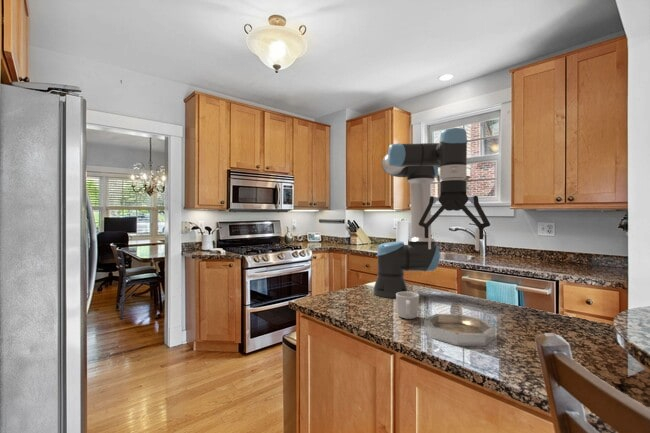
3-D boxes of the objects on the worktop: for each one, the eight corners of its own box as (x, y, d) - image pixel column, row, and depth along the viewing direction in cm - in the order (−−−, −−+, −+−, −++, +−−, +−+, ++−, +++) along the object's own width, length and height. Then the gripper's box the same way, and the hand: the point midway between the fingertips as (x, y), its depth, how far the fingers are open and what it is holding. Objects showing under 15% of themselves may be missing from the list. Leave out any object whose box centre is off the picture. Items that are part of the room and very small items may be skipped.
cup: (421, 324, 106) (421, 299, 106) (396, 322, 107) (396, 298, 107) (418, 314, 116) (418, 292, 116) (395, 312, 118) (395, 290, 118)
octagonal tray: (419, 322, 107) (419, 313, 107) (475, 323, 106) (475, 314, 106) (437, 345, 89) (437, 334, 89) (505, 346, 88) (505, 335, 88)
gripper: (410, 180, 99) (410, 249, 99) (501, 177, 91) (500, 252, 92) (411, 182, 106) (411, 246, 106) (496, 180, 99) (495, 249, 99)
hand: (452, 249), depth 99 cm, fingers open, 13 cm apart
